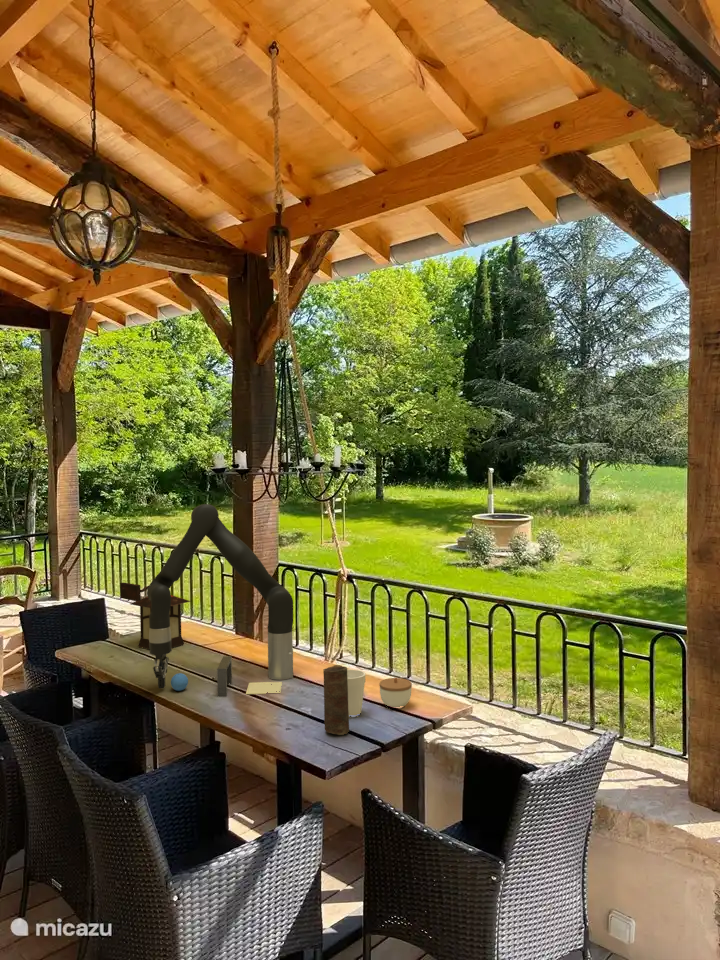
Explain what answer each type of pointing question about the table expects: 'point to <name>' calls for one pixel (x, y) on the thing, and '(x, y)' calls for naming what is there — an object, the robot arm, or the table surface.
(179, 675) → the ball
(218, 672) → the bridge
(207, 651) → the table surface
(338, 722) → the candle
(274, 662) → the robot arm
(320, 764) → the table surface
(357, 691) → the foam cup
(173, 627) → the lantern
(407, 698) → the lidded jar
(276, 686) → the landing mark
